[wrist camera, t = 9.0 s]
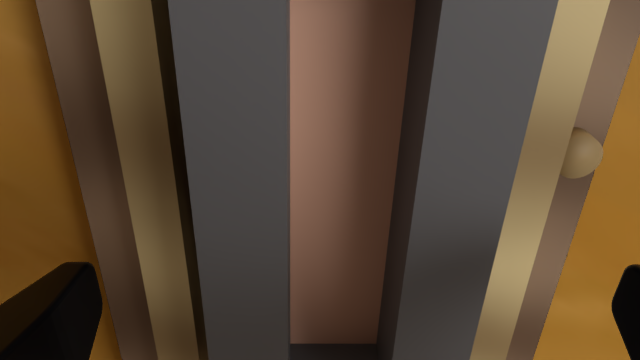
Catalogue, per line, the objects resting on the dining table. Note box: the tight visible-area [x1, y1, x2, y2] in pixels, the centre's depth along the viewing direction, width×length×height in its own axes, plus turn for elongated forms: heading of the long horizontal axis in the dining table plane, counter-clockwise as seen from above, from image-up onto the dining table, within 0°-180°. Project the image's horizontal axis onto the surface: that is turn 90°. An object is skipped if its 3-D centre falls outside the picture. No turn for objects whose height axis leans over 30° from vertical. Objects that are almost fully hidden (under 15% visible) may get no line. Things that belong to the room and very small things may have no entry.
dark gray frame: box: [168, 0, 559, 360], centre depth 12 cm, size 14×6×4 cm, turn 178°
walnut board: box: [35, 0, 640, 360], centre depth 14 cm, size 20×14×3 cm
